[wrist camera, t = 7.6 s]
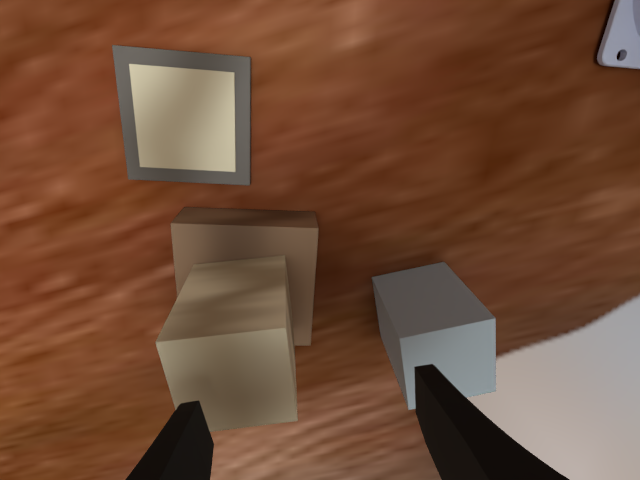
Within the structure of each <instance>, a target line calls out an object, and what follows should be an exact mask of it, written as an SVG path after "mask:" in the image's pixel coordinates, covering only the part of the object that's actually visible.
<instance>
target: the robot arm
mask: <svg viewBox="0 0 640 480" xmlns="http://www.w3.org/2000/svg"><path fill="white" fill-rule="evenodd" d="M619 51H620V57H619V59H618V60H617V54H618V52H619ZM597 60H598V63H599V64H600V65H602V66H610V67H621V68H632V69H640V0H615V1H614V4H613V7H612V10H611V14H610V17H609V20H608V23H607V26H606V29H605V33H604V36H603V39H602V42H601V45H600V48H599V51H598V55H597ZM414 371H415V406H416V414H417V418H418V421H419V424H420V427H421V430H422V433H423V436H424V439H425V442H426V445H427V447H428V449H429V452H430V454H431V456H432V459H433V461H434V463H435V465H436V468H437V470H438V472H439V474H440V477H441V479H442V480H569V479H568V478H566V477H565V476H563V475H561V474H559V473H558V472H557V471H555V470H554V469H553V468H551V467H549V466H548V465H547V464H545V463H544V462H543V461H541V460H540V459H538V458H537V457H536V456H534V455H533V454H532V453H530V452H529V451H528V450H526V449H525V448H524V447H522V446H521V445H520V444H518V443H517V442H516V441H515V440H513V439H512V438H511V437H510V436H508V435H507V434H506V433H505V432H504V431H503V430H501V429H500V428H499V427H498V426H497V425H495V424H494V423H493V422H492V421H491V420H490V419H489V418H487V417H486V416H485V415H484V414H483V413H482V412H481V411H480V410H479V409H477V407H475V406H474V405H473V404H472V403H471V402H470V401H469V400H468V399H467V398H466V397H465V396H464V395H463V394H462V393H461V392H460V391H459V390H458V389H457V388H456V387H455V386H454V385H453V384H452V383H451V382H450V381H449V380H448V379H447V378H446V377H445V376H444V375H443V374H442V373H441V372H440V371H439V369H438V368H437V367H436V366H435V365H433V364H428V365H422V366H416V367H414ZM213 447H214V443H213V440H212V437H211V434H210V431H209V428H208V425H207V422H206V419H205V416H204V413H203V410H202V407H201V404H200V401H199V400H198V401H192V402H185V403H181V404H180V405H179V406H178V407H177V409H176V410H175V412H174V413H173V415H172V416H171V417H170V419H169V420H168V422H167V423H166V425H165V426H164V428H163V429H162V430H161V432H160V433H159V435H158V436H157V438H156V439H155V440H154V442H153V443H152V445H151V446H150V447H149V449H148V450H147V452H146V453H145V454H144V456H143V457H142V458H141V460H140V461H139V463H138V464H137V465H136V467H135V468H134V469H133V471H132V472H131V473H130V474H129V476H128V477H127V478H126V480H210V475H211V466H212V457H213Z"/></svg>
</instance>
